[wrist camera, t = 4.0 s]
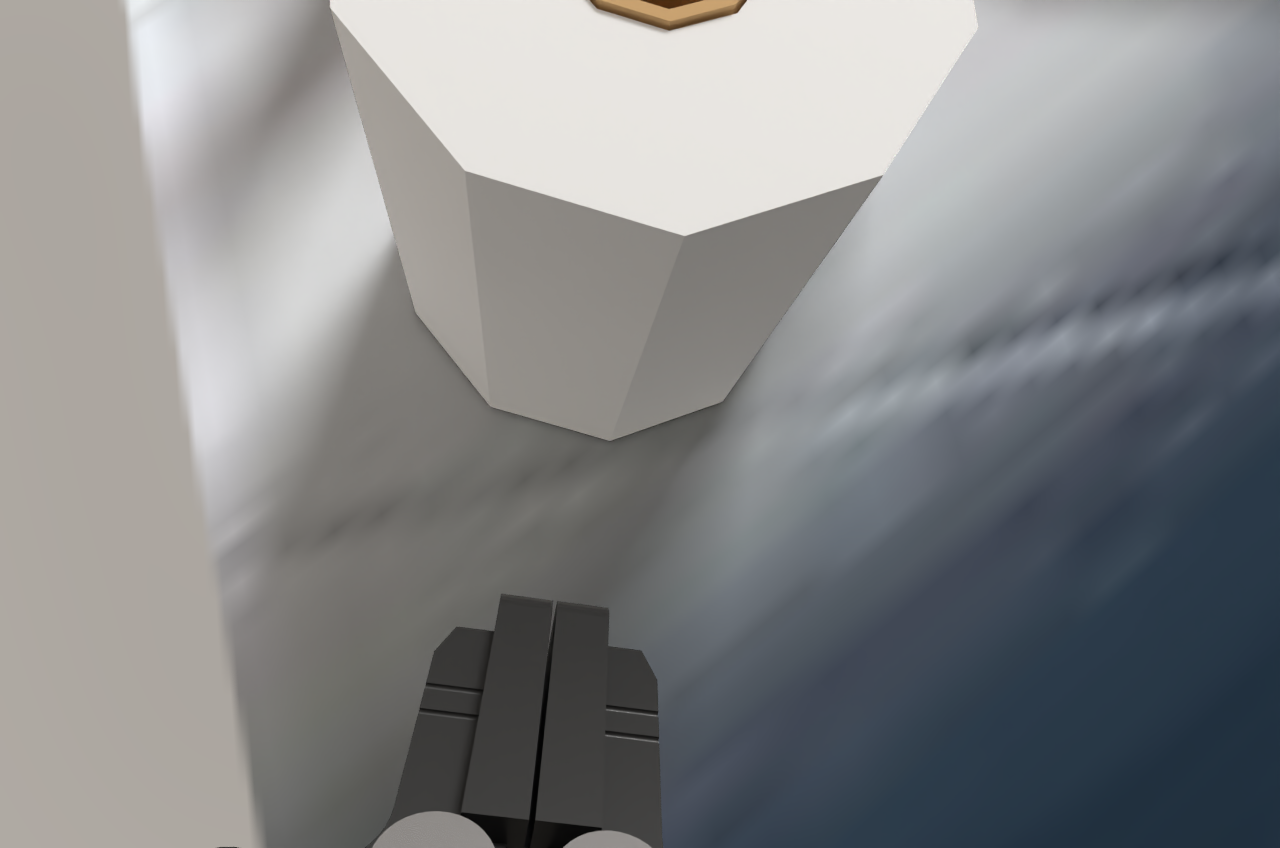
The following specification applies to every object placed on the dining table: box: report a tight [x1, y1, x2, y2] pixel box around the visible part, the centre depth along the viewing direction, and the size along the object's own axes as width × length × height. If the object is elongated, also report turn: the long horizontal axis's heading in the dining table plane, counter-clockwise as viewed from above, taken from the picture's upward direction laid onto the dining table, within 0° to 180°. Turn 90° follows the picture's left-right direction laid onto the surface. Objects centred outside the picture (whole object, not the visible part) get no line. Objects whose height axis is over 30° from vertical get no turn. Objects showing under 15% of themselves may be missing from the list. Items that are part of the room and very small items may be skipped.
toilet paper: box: [330, 0, 978, 441], centre depth 21 cm, size 10×10×12 cm
